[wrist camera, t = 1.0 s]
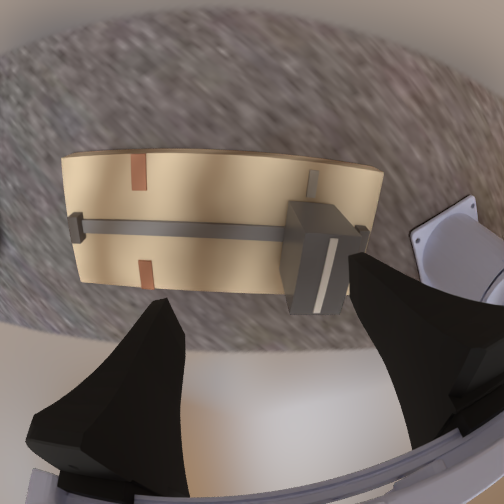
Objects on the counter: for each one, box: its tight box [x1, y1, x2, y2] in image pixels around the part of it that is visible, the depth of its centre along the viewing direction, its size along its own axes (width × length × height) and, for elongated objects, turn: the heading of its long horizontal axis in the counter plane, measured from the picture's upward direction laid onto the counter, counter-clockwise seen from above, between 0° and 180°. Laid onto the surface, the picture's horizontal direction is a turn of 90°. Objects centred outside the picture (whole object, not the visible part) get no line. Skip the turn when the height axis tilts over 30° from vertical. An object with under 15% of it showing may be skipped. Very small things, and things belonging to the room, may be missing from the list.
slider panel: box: [61, 149, 384, 295], centre depth 20 cm, size 22×10×3 cm, turn 85°
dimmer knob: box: [279, 201, 362, 315], centre depth 17 cm, size 3×5×5 cm, turn 176°
